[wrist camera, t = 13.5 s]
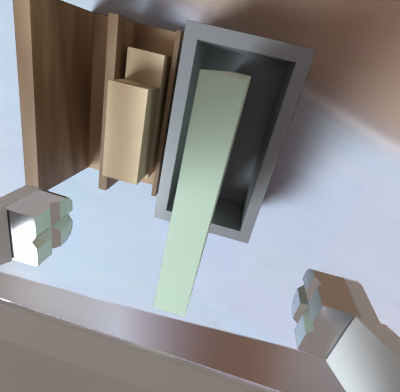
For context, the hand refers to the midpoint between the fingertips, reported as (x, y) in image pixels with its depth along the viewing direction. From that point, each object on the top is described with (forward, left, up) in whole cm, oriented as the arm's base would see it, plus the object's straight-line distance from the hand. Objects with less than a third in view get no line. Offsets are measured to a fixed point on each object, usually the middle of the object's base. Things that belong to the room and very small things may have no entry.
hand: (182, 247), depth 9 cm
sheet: (0, 0, -20) cm, 20 cm away
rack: (+11, 0, -21) cm, 24 cm away
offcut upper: (+8, +1, -17) cm, 19 cm away
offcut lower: (+8, 0, -20) cm, 21 cm away
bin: (0, 0, -21) cm, 21 cm away
